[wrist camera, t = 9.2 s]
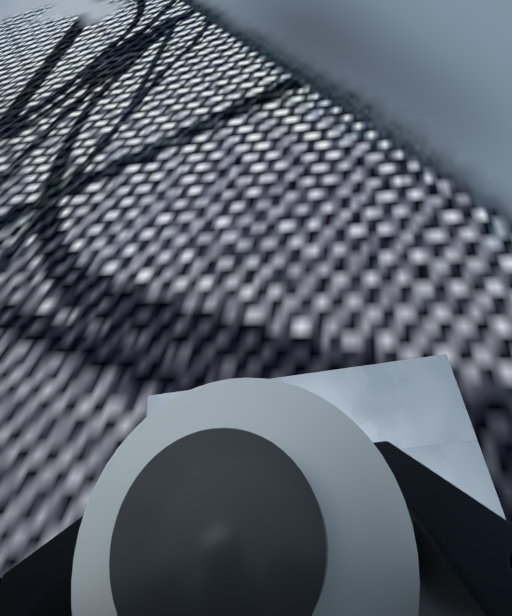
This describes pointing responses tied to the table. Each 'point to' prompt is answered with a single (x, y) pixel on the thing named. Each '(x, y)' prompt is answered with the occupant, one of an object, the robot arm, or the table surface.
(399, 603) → the plug
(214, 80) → the table surface
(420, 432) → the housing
